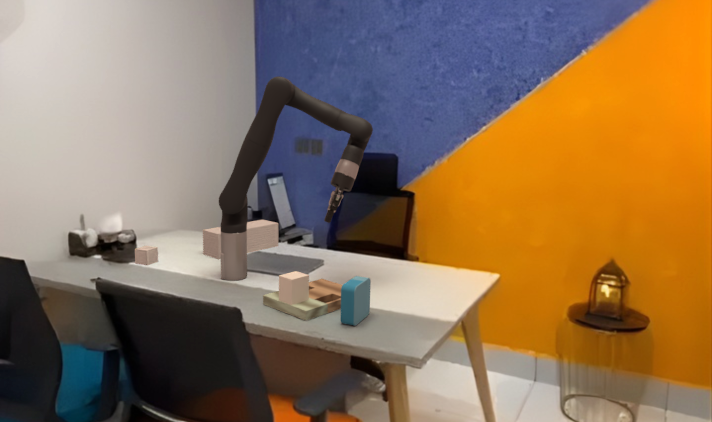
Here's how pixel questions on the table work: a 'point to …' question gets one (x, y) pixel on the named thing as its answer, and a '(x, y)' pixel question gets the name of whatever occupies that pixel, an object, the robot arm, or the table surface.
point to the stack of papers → (258, 238)
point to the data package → (355, 300)
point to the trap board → (310, 300)
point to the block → (293, 287)
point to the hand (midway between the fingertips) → (327, 221)
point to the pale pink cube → (146, 255)
